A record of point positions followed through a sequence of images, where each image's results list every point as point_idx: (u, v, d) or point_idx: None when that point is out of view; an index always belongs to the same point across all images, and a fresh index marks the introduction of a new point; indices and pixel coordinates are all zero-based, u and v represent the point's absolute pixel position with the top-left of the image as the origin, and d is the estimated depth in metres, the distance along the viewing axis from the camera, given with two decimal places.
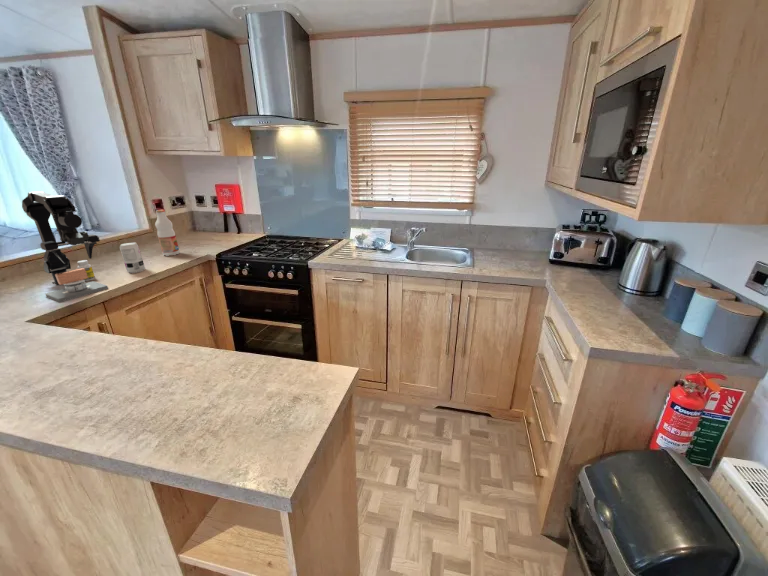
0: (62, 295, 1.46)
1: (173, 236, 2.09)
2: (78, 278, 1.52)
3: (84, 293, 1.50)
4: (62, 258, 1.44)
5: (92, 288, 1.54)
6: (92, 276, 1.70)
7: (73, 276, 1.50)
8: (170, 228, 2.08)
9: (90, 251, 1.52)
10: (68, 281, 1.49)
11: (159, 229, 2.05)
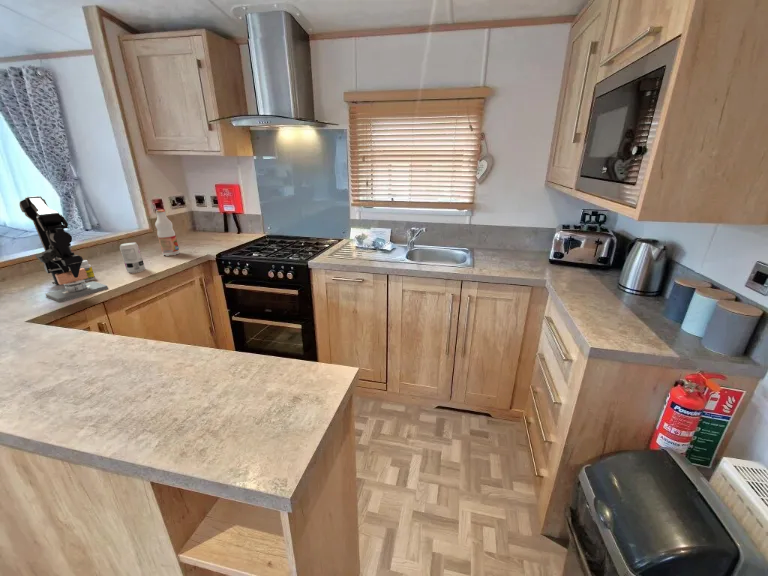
0: (62, 295, 1.46)
1: (173, 236, 2.09)
2: (78, 278, 1.52)
3: (84, 293, 1.50)
4: (62, 269, 1.51)
5: (92, 288, 1.54)
6: (92, 276, 1.70)
7: (73, 276, 1.50)
8: (170, 228, 2.08)
9: (71, 271, 1.46)
10: (68, 281, 1.49)
11: (159, 229, 2.05)
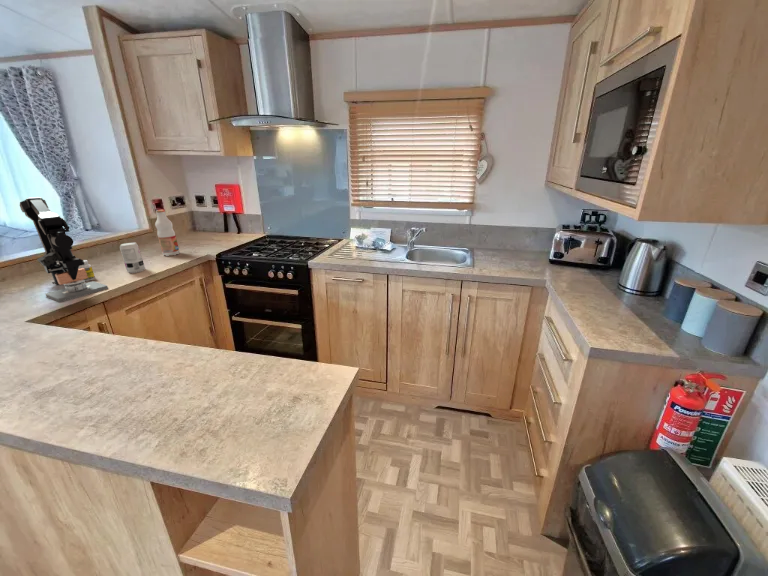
0: (62, 295, 1.46)
1: (173, 236, 2.09)
2: (78, 278, 1.52)
3: (84, 293, 1.50)
4: None
5: (92, 288, 1.54)
6: (92, 276, 1.70)
7: None
8: (170, 228, 2.08)
9: (69, 273, 1.48)
10: (68, 281, 1.49)
11: (159, 229, 2.05)
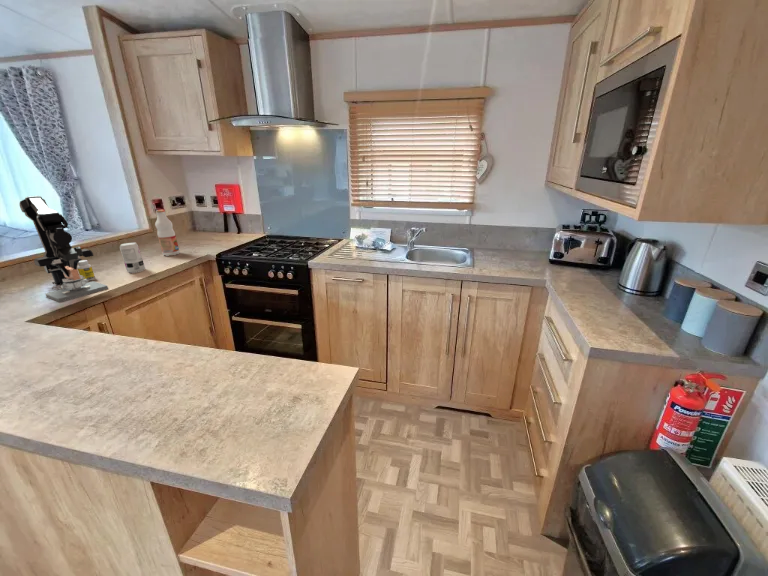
0: (62, 295, 1.46)
1: (173, 236, 2.09)
2: None
3: (84, 293, 1.50)
4: (65, 271, 1.48)
5: (92, 288, 1.54)
6: (92, 276, 1.70)
7: None
8: (170, 228, 2.08)
9: (75, 268, 1.51)
10: None
11: (159, 229, 2.05)
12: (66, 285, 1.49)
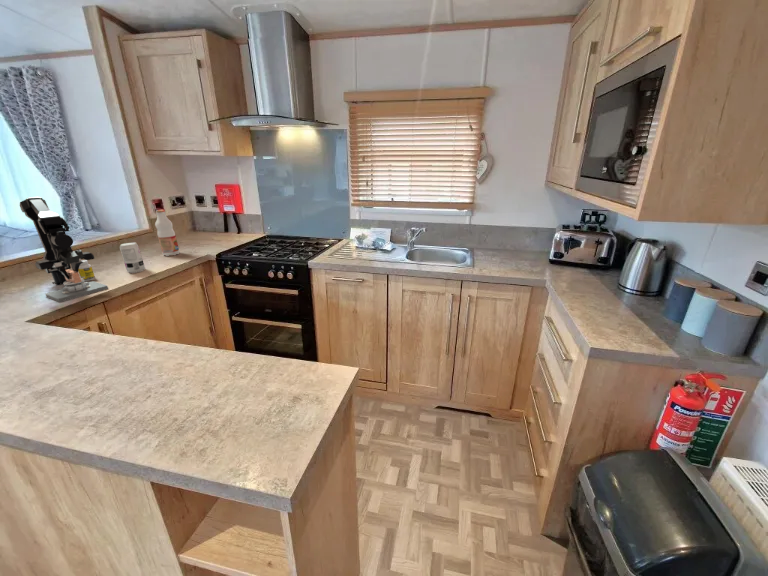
0: (62, 295, 1.46)
1: (173, 236, 2.09)
2: None
3: (84, 293, 1.50)
4: (66, 274, 1.48)
5: (92, 288, 1.54)
6: (92, 276, 1.70)
7: None
8: (170, 228, 2.08)
9: (76, 270, 1.51)
10: None
11: (159, 229, 2.05)
12: (67, 288, 1.49)
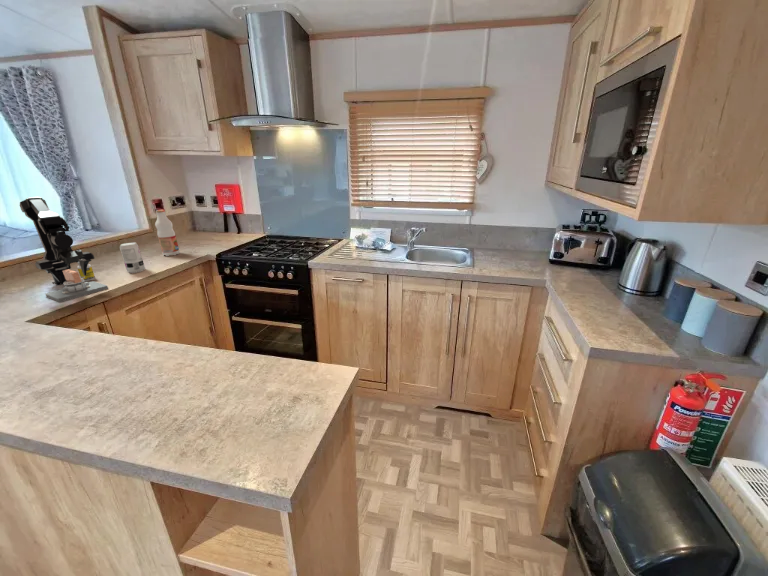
0: (62, 295, 1.46)
1: (173, 236, 2.09)
2: None
3: (84, 293, 1.50)
4: (57, 276, 1.46)
5: (92, 288, 1.54)
6: (92, 276, 1.70)
7: None
8: (170, 228, 2.08)
9: (85, 268, 1.54)
10: None
11: (159, 229, 2.05)
12: (67, 288, 1.49)
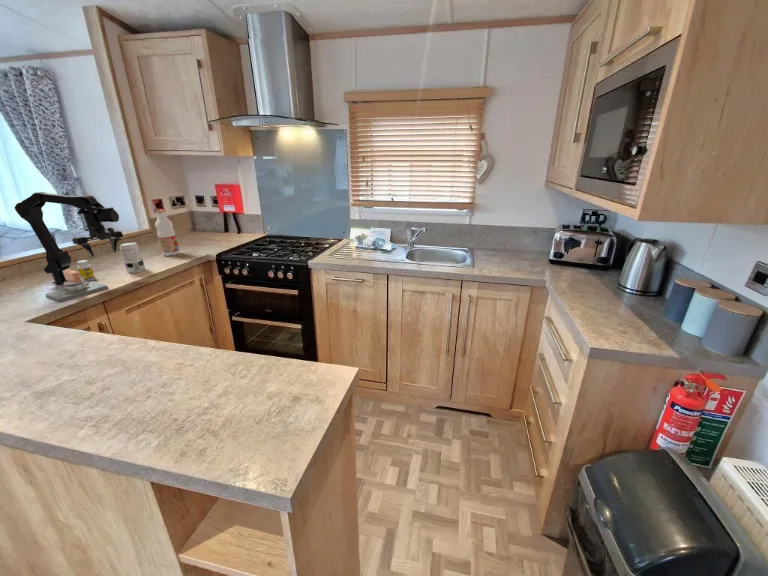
0: (62, 295, 1.46)
1: (173, 236, 2.09)
2: None
3: (84, 293, 1.50)
4: (91, 251, 1.60)
5: (92, 288, 1.54)
6: (92, 276, 1.70)
7: None
8: (170, 228, 2.08)
9: (115, 245, 1.68)
10: None
11: (159, 229, 2.05)
12: (67, 288, 1.49)
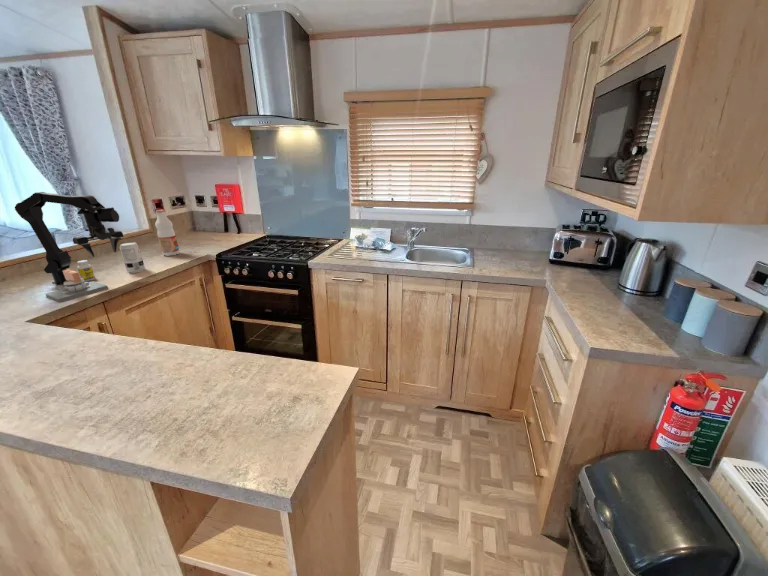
0: (62, 295, 1.46)
1: (173, 236, 2.09)
2: None
3: (84, 293, 1.50)
4: (91, 251, 1.61)
5: (92, 288, 1.54)
6: (92, 276, 1.70)
7: None
8: (170, 228, 2.08)
9: (115, 245, 1.68)
10: None
11: (159, 229, 2.05)
12: (67, 288, 1.49)
